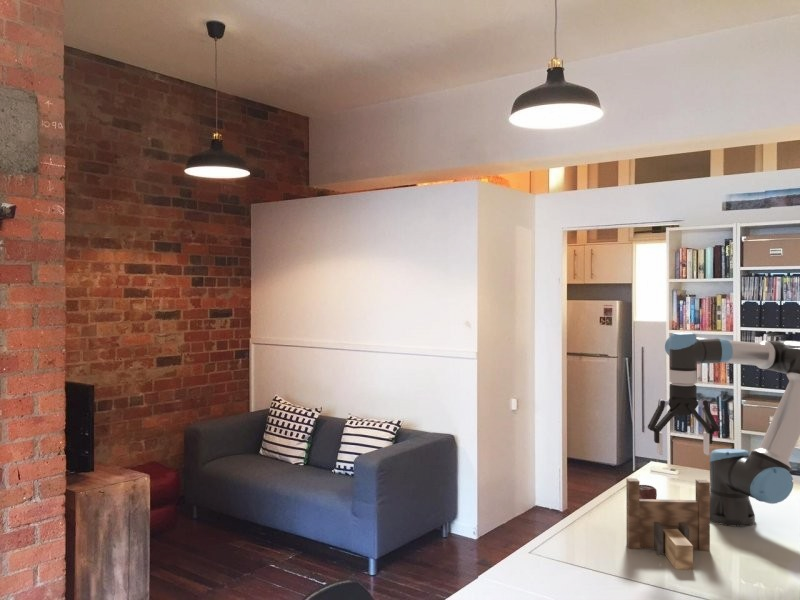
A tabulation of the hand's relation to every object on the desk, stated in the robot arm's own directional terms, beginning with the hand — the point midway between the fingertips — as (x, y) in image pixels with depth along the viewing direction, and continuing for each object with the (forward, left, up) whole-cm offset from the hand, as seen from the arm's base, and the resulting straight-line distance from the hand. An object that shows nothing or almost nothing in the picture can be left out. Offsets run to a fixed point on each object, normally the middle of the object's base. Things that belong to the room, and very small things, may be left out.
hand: (683, 454), depth 201 cm
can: (+9, -9, -27) cm, 30 cm away
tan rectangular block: (+6, +14, -27) cm, 31 cm away
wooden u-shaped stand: (+6, +7, -27) cm, 28 cm away
